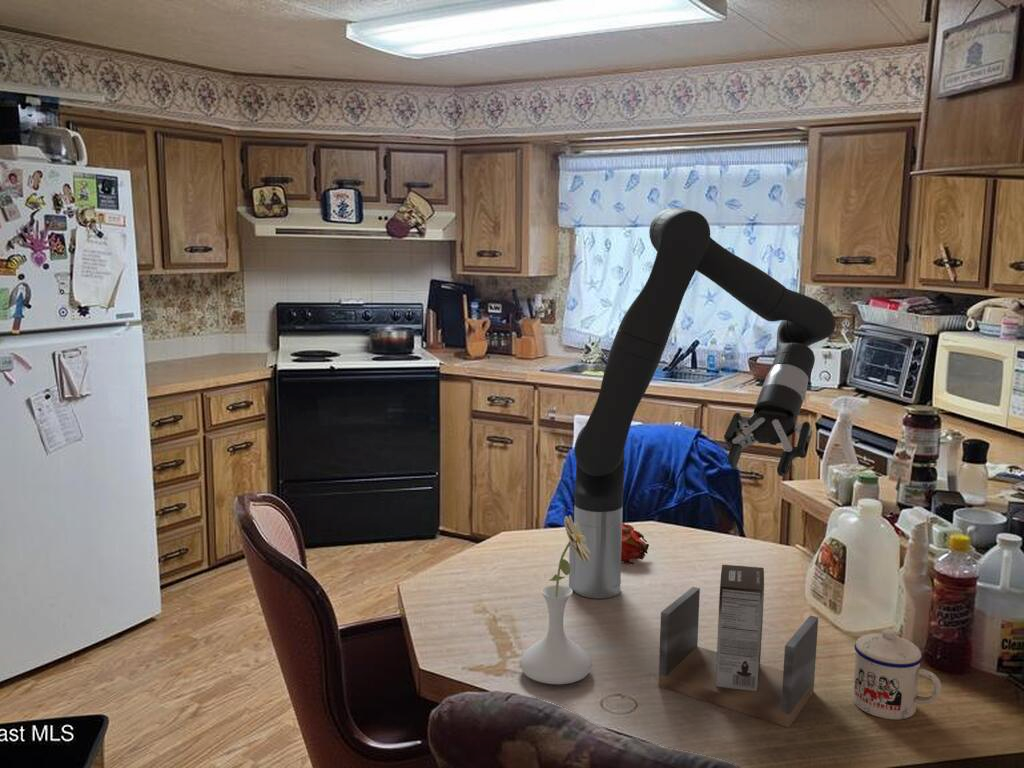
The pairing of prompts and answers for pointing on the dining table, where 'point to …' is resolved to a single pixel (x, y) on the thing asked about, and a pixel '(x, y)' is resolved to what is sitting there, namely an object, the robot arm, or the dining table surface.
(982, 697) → the dining table surface
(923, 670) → the teacup with lid
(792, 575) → the dining table surface
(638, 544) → the dragon fruit
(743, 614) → the coffee box
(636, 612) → the dining table surface
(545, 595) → the flower in vase
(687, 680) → the shelf bay
